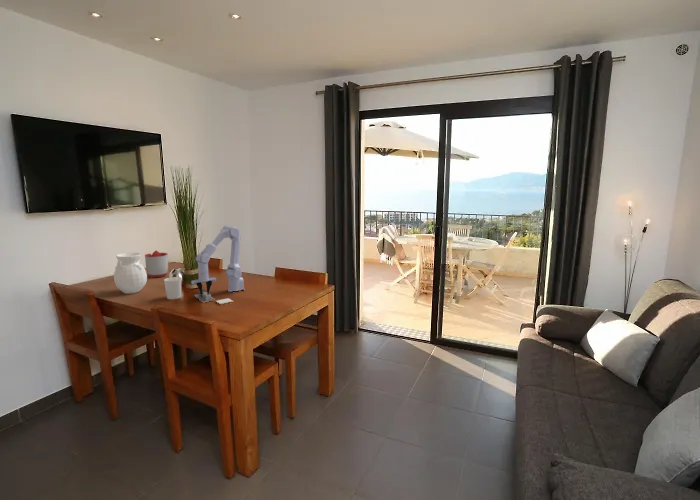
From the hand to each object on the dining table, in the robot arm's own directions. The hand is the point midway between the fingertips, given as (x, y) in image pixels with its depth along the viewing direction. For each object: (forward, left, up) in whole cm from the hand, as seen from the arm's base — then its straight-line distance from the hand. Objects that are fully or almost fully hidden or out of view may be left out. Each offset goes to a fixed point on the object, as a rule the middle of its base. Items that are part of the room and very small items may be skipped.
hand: (204, 293), depth 228 cm
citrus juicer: (+12, -77, -3) cm, 78 cm away
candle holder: (+15, -13, -3) cm, 20 cm away
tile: (-7, +12, -3) cm, 14 cm away
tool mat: (0, 0, -3) cm, 3 cm away
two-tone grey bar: (0, 0, -3) cm, 3 cm away
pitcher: (+34, -42, -3) cm, 54 cm away
